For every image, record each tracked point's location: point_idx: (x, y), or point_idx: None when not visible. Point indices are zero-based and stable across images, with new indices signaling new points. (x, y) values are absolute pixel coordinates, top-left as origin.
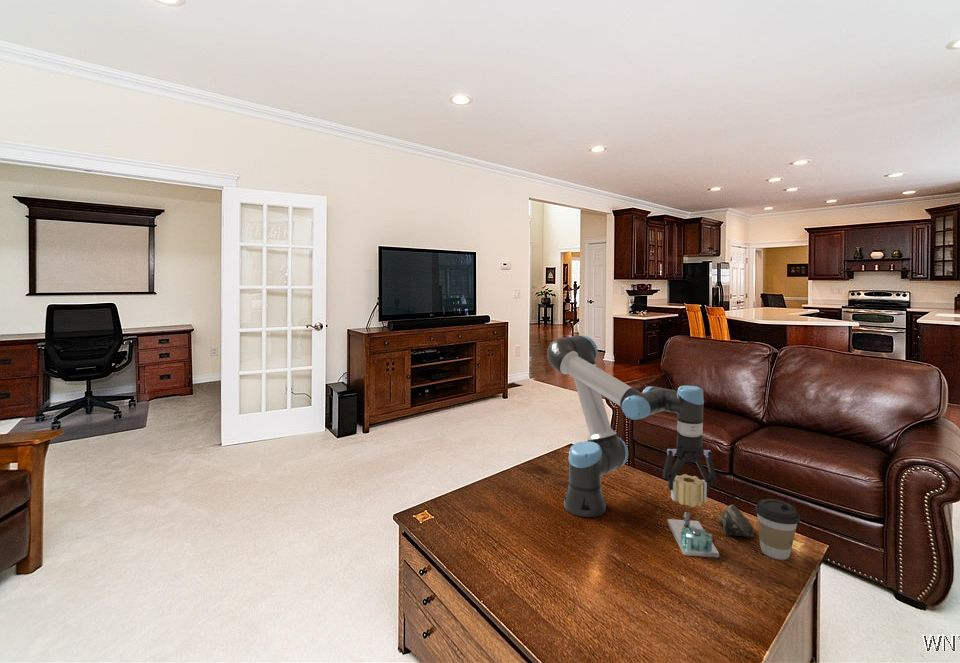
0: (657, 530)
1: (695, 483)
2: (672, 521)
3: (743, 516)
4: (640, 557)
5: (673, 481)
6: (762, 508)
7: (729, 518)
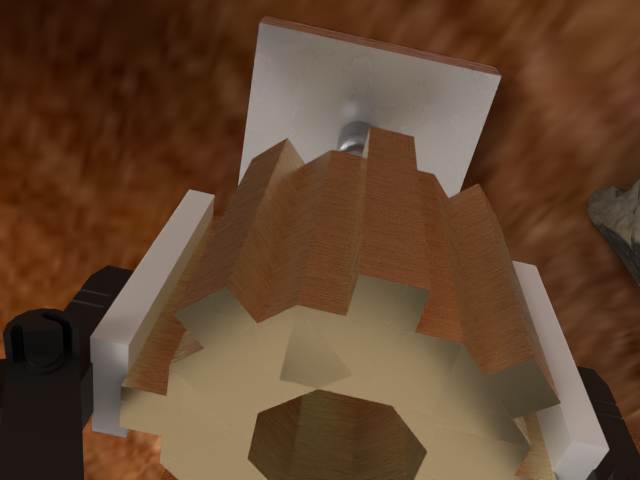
0: (157, 104)
1: None
2: (284, 64)
3: None
4: (5, 320)
5: (94, 422)
6: None
7: None
